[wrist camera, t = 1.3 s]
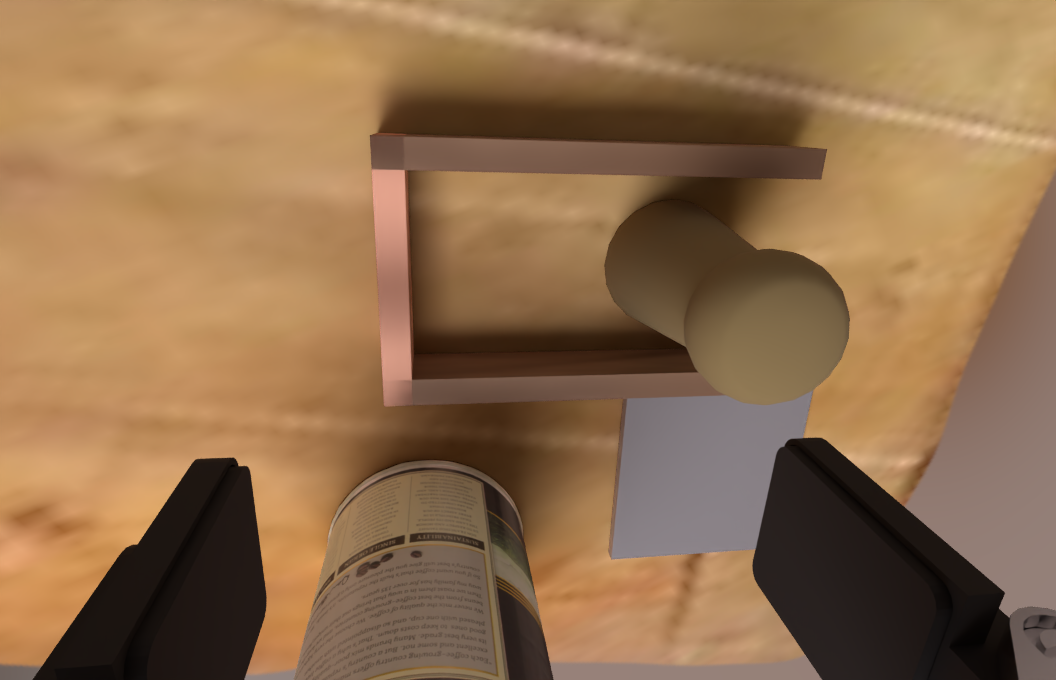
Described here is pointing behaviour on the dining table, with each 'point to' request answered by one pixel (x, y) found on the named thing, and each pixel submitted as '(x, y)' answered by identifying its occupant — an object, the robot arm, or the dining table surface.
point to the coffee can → (425, 583)
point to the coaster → (696, 472)
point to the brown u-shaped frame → (544, 370)
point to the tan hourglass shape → (729, 302)
